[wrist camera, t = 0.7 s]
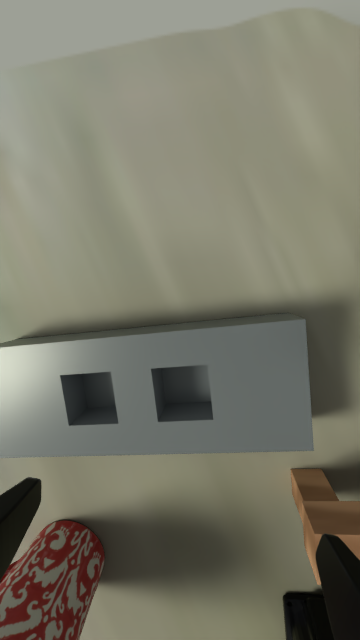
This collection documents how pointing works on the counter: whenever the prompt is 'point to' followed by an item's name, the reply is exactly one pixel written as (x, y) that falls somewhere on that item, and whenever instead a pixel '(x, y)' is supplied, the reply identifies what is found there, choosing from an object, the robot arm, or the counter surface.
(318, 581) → the tan pronged block
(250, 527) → the counter surface
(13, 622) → the mug
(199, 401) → the rail
